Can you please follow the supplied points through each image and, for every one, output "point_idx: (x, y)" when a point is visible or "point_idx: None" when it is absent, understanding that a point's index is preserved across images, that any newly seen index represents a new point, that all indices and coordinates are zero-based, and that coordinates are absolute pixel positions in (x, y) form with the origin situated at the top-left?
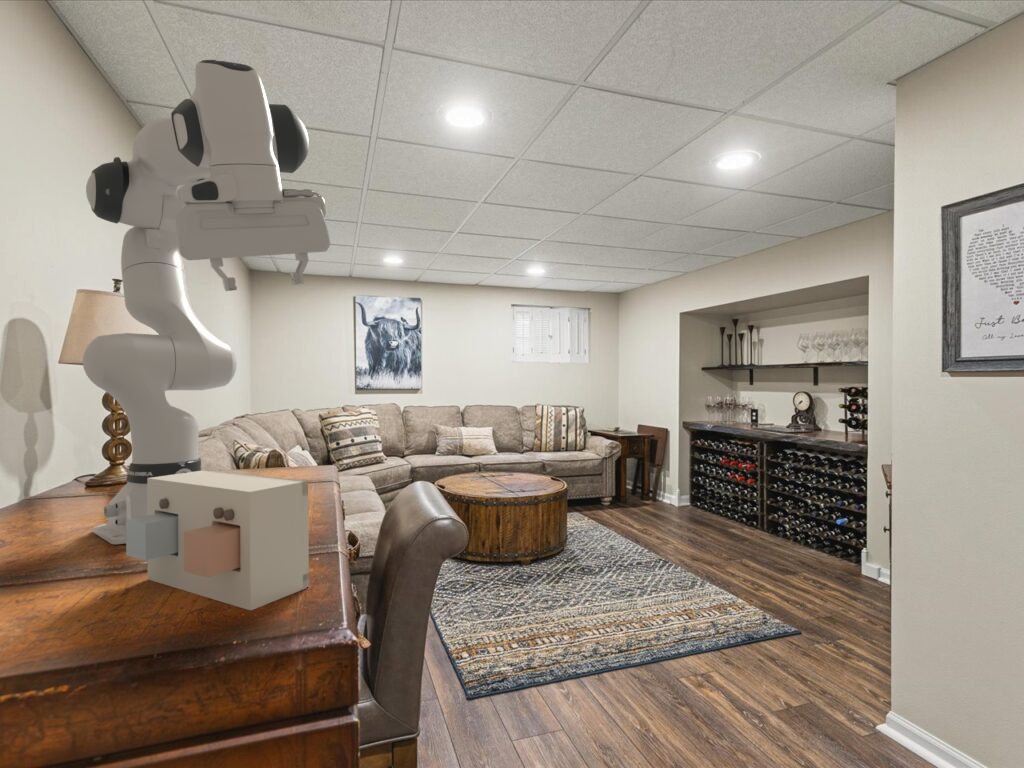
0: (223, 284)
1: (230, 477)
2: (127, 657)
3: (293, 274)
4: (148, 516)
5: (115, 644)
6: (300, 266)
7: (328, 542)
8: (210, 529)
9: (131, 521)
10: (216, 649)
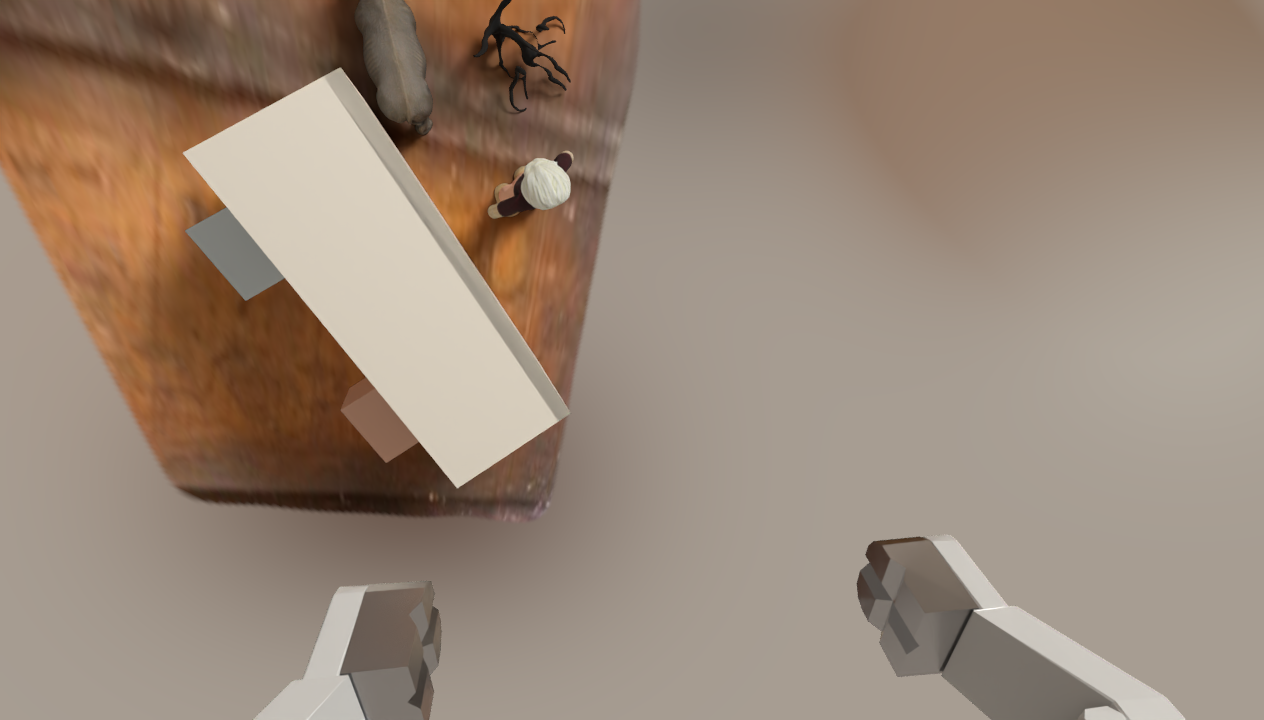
0: (326, 627)
1: (415, 275)
2: (308, 490)
3: (894, 668)
4: (233, 222)
5: (282, 447)
6: (1002, 716)
7: (611, 107)
8: (387, 414)
9: (203, 251)
10: (411, 508)
